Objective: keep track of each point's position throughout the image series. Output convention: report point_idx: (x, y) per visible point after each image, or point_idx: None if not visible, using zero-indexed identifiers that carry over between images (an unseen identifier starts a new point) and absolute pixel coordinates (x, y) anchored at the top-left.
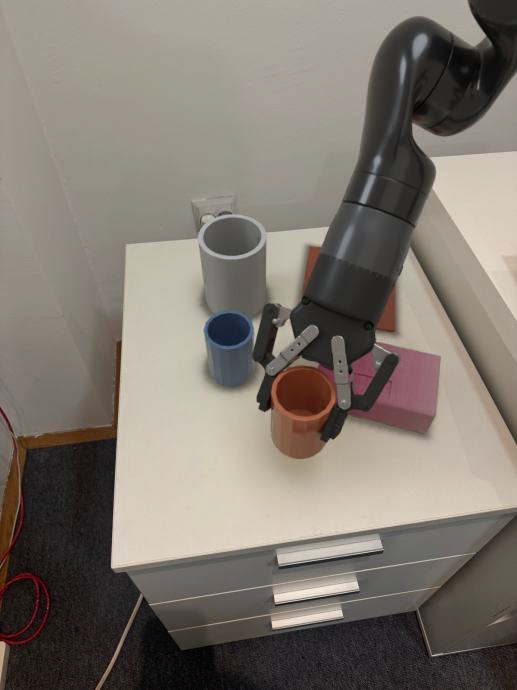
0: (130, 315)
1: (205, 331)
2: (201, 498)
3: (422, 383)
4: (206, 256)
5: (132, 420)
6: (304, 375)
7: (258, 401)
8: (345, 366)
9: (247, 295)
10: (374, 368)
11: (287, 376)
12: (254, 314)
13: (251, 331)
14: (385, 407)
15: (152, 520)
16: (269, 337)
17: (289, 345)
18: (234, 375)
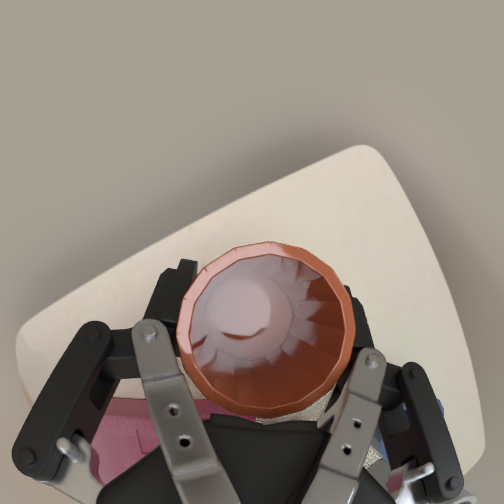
0: (476, 393)
1: (441, 408)
2: (334, 218)
3: (104, 455)
4: (465, 492)
5: (437, 279)
6: (282, 394)
7: (353, 299)
8: (159, 429)
9: (386, 490)
10: (84, 440)
11: (324, 369)
12: None
13: (383, 448)
14: (138, 414)
15: (367, 181)
16: (415, 428)
17: (371, 433)
18: None
